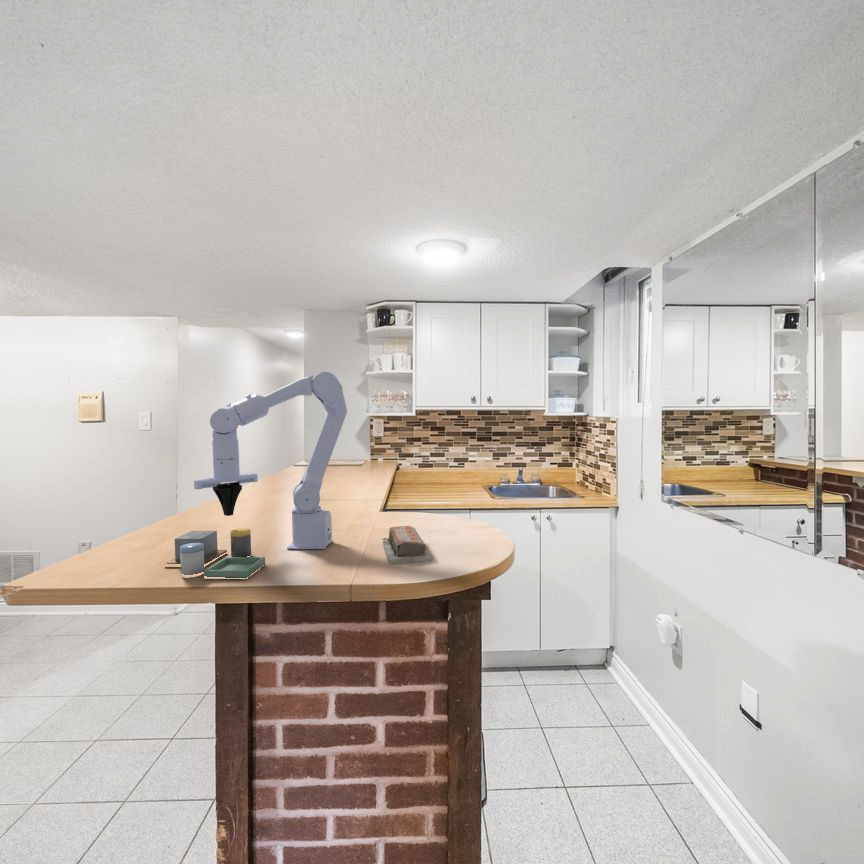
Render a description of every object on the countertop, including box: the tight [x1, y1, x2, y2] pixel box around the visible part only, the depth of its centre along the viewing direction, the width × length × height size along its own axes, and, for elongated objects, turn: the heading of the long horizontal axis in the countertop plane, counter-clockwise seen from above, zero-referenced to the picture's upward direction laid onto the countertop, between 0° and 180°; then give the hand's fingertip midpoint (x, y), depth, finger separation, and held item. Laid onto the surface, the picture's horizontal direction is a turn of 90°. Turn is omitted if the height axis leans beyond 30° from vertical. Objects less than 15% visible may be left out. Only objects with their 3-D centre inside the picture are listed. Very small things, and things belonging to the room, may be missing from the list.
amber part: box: [229, 527, 252, 557], centre depth 109 cm, size 4×4×6 cm
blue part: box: [180, 543, 206, 575], centre depth 97 cm, size 4×4×6 cm
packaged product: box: [381, 525, 433, 565], centre depth 111 cm, size 18×5×10 cm
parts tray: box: [203, 556, 266, 578], centre depth 98 cm, size 9×9×2 cm
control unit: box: [165, 530, 228, 564], centre depth 107 cm, size 9×10×6 cm
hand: (228, 515), depth 112 cm, fingers closed
